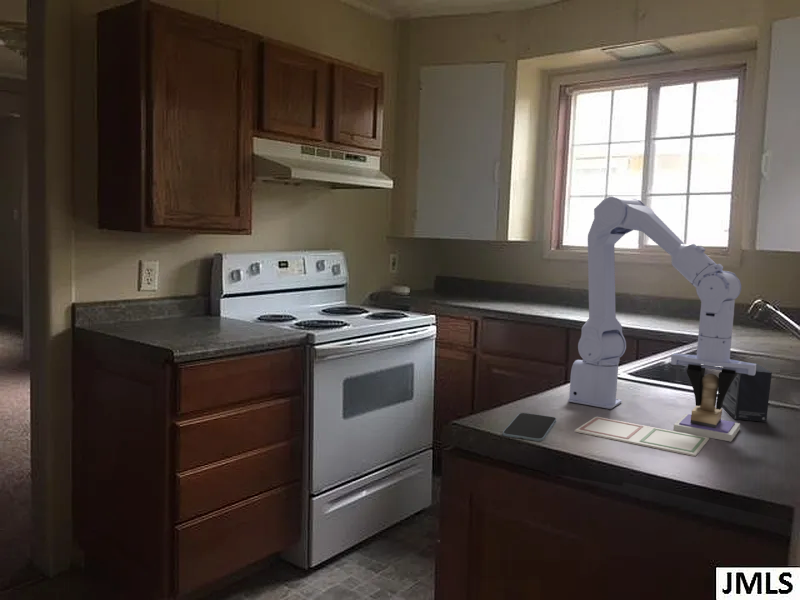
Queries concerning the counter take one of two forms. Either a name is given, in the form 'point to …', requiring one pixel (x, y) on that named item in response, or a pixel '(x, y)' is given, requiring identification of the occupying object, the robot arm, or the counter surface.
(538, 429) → the smartphone
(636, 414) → the counter surface
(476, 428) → the counter surface
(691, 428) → the ink pad
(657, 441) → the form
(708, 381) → the stamp
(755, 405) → the small box
